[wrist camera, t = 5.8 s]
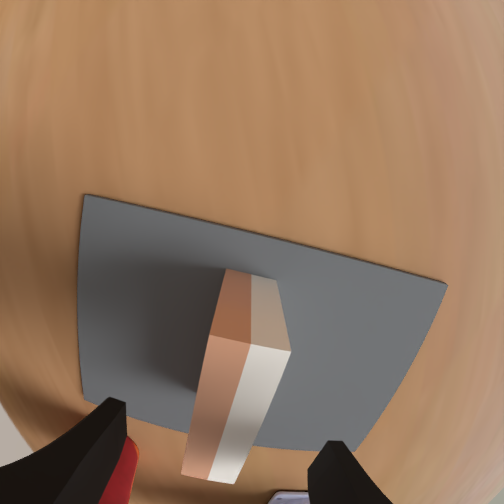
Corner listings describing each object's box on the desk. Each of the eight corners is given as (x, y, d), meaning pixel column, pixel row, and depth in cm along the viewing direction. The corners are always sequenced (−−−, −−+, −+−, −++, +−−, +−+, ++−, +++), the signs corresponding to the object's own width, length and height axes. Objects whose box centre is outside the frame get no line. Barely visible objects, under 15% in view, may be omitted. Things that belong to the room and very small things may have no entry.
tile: (238, 401, 16) (233, 484, 10) (198, 393, 16) (180, 474, 10) (276, 280, 14) (291, 351, 8) (226, 268, 14) (209, 334, 8)
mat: (353, 447, 18) (354, 451, 18) (86, 396, 17) (84, 399, 17) (444, 282, 15) (448, 285, 14) (88, 194, 13) (84, 194, 13)
